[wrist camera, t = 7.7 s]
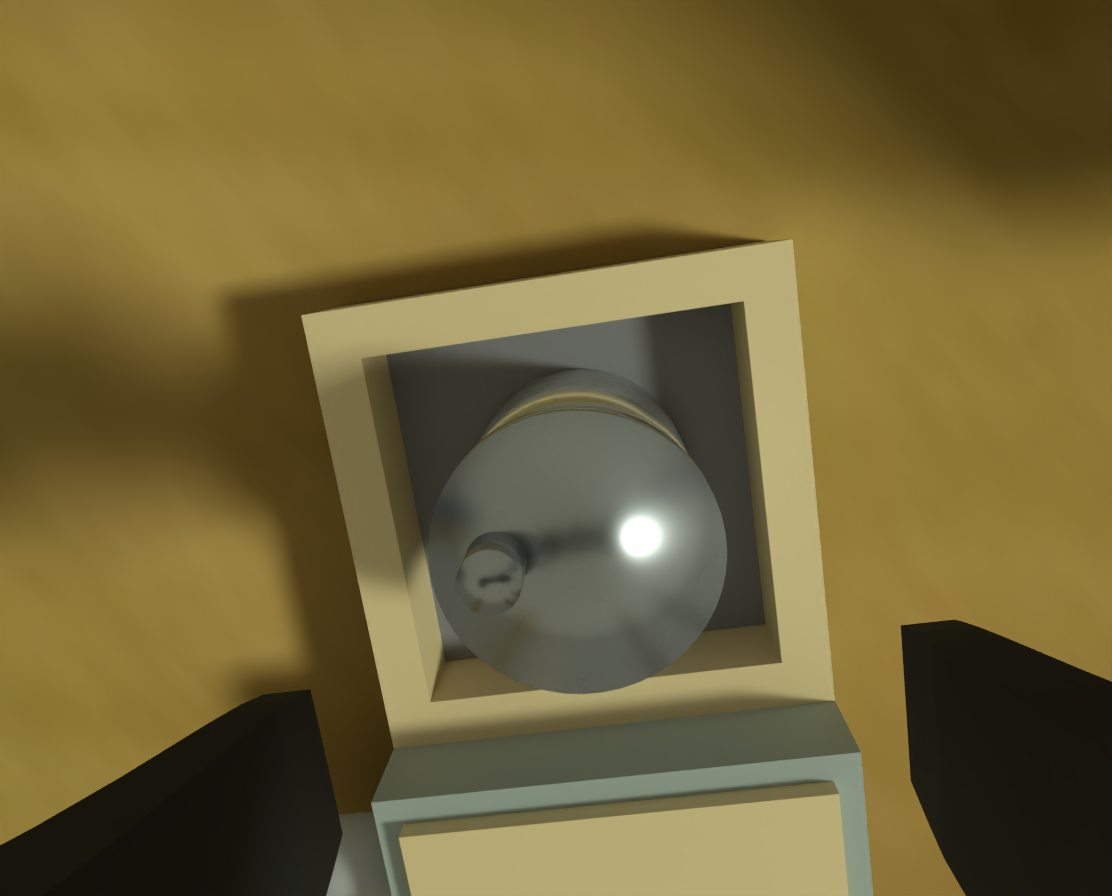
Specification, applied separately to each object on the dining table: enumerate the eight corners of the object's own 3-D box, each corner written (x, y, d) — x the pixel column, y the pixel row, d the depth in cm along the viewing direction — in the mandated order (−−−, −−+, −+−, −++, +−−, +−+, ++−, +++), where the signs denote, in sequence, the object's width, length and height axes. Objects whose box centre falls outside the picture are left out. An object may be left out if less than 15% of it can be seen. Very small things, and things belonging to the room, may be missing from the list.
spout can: (687, 359, 19) (735, 415, 12) (692, 569, 20) (739, 722, 13) (465, 369, 19) (401, 431, 13) (482, 577, 20) (429, 730, 14)
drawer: (767, 240, 19) (822, 237, 14) (827, 848, 22) (887, 1013, 17) (211, 327, 20) (88, 351, 15) (345, 893, 23) (278, 1060, 18)
